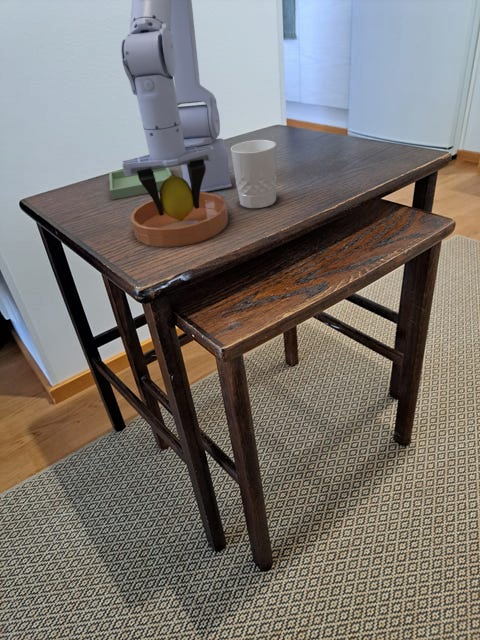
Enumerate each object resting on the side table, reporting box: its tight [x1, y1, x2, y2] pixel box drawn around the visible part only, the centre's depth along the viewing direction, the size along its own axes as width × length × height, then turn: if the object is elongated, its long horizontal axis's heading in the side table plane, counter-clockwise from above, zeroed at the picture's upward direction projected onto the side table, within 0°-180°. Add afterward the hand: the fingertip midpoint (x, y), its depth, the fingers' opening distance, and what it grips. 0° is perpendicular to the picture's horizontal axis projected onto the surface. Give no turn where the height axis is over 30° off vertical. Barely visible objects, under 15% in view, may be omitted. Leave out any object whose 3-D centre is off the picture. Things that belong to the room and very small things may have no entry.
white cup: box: [230, 139, 278, 209], centre depth 80 cm, size 8×8×10 cm
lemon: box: [159, 174, 194, 221], centre depth 75 cm, size 6×6×8 cm
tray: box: [108, 167, 173, 200], centre depth 98 cm, size 13×13×2 cm
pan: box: [130, 192, 229, 248], centre depth 77 cm, size 16×16×3 cm
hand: (178, 209), depth 76 cm, fingers closed on lemon, 5 cm apart
